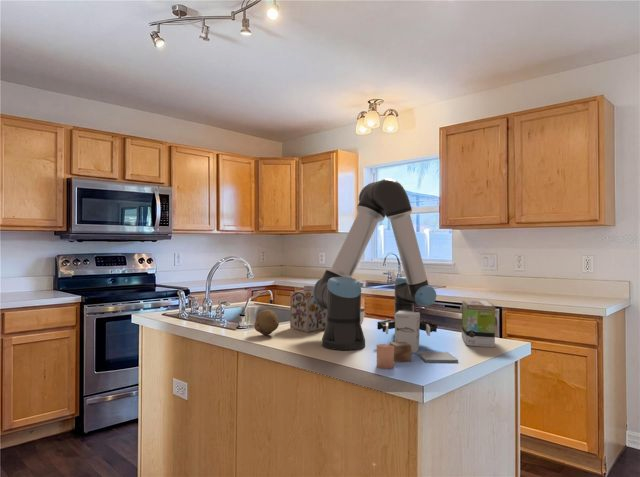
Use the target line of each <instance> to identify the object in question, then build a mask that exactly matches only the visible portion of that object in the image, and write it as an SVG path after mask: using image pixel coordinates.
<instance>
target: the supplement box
mask: <svg viewBox="0 0 640 477" xmlns="http://www.w3.org/2000/svg"><path fill="white" fill-rule="evenodd" d="M420 319H421V312H417V311H414V312H407V311H398V312H397V313H395V318H394V320H395V328H394V342H406V343H408V344H410V345H411V354H416V353H417V352H419V349H420V331H421V330H420V322H421V320H420Z"/></svg>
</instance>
